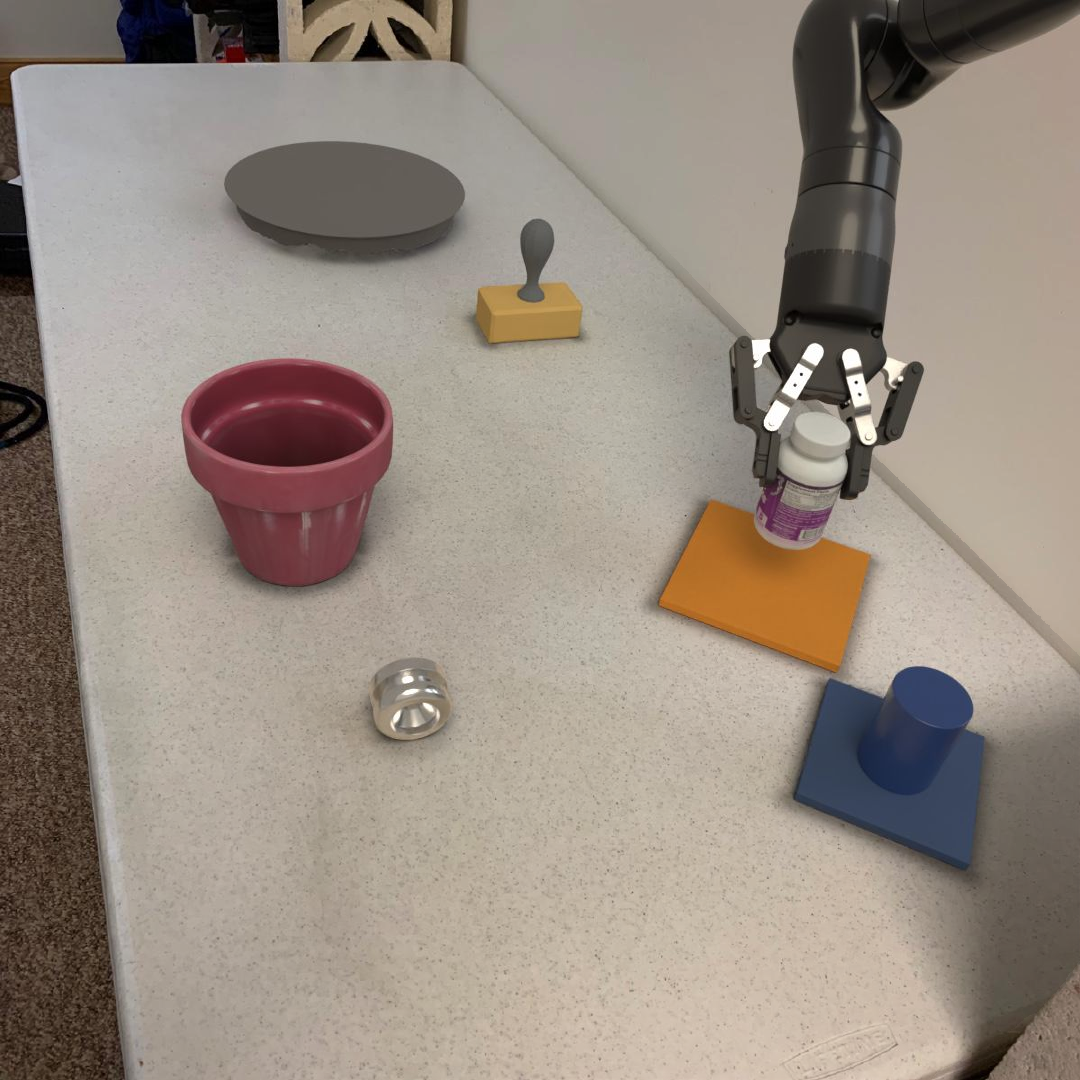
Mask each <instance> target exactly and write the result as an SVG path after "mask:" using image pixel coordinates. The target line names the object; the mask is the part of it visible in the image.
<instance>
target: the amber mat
mask: <svg viewBox="0 0 1080 1080" xmlns="http://www.w3.org/2000/svg"><path fill="white" fill-rule="evenodd" d="M754 515H755V513H752V512H749V511H746V510H743V509H740V508H738V507H735V506H732V505H729V504H725V503H723V502H720V501H718V500H714V499H710V500H709V501H708V503H707V506H706V508H705V510H704V512H703V514H702V516H701V517H700V519H699V522H698V523H697V525H696V528H695V530H694V532H693V534H692V535H691V536H690V539H689V542H688V543H687V545H686V547H685V549H684V551H683V553H682V555H681V557H680V558H679V561H678V563H677V565H676V567H675V569H674V571H673V573H672V575H671V577H670V579H669V580H668V582H667V584H666V586H665V588H664V591H663V593H662V595H661V596H660V598H659V602H658V606H659V607H661V608H664V609H667V610H669V611H672V612H675V613H678V614H679V615H683V616H684V617H685V616H686V617H688V618H691V619H693V620H696V621H698V622H701V623H704V624H706V625H709V626H712V627H714V628H717V629H720V630H723V631H725V632H728V633H730V634H733V635H734V636H735V635H736V636H738V637H741V638H744V639H746V640H749V641H752V642H754V643H756V644H760V645H762V646H765V647H768V648H770V649H773V650H775V651H777V652H780V653H783V654H787V655H789V656H791V657H794V658H797V659H800V660H801V661H804V662H807V663H810V664H812V665H815V666H818V667H820V668H823V669H825V670H828V671H830V672H834V673H838V672H839V670H840V667H841V665H842V661H843V659H844V654H845V650H846V647H847V643H848V639H849V635H850V632H851V629H852V625H853V621H854V617H855V614H856V610H857V607H858V603H859V600H860V596H861V592H862V589H863V585H864V581H865V577H866V574H867V570H868V567H869V563H870V560H871V556H872V555H871V554H870V553H867V552H864V551H861V550H859V549H856V548H853V547H850V546H848V545H845V544H842V543H838V542H836V541H833V540H830V539H827V538H824V537H821V539H820V540H819V542H818V543H816V544H815V545H814V546H812V547H810V548H807V549H802V550H789V549H784V548H780V547H778V546H775V545H773V544H771V543H770V542H768V541H767V540H765V539H764V538H763V537H762V536H761V535H760V534H759V532H758V531H757V529H756V527H755V525H754Z"/></svg>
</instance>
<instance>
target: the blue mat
mask: <svg viewBox="0 0 1080 1080" xmlns="http://www.w3.org/2000/svg"><path fill="white" fill-rule="evenodd" d="M883 698H884V697H881V696H879V695H876V694H874V693H871V692H868V691H865V690H863V689H860V688H858V687H855V686H853V685H850V684H847V683H844V682H842V681H839V680H837V679H834V678H832V677H829V678H828V680H827V683H826V685H825V689H824V692H823V696H822V699H821V703H820V705H819V709H818V712H817V715H816V716H817V717H816V719H815V723H814V727H813V730H812V734H811V737H810V741H809V744H808V748H807V752H806V755H805V758H804V762H803V766H802V769H801V773H800V775H799V779H798V783H797V786H796V790H795V792H794V793H795V794H794V797H793V800H794V801H796V802H797V803H801V804H803V805H806V806H808V807H810V808H813V809H814V810H815V809H816V810H818V811H819V812H822V813H825V814H827V815H829V816H832V817H835V818H837V819H840V820H841V821H844V822H847V823H850V824H851V825H854V826H857V827H859V828H862V829H863V830H866V831H868V832H871V833H873V834H875V835H878V836H881V837H883V838H885V839H887V840H891V841H893V842H895V843H897V844H900V845H902V846H905V847H907V848H909V849H912V850H915V851H917V852H919V853H922V854H924V855H927V856H930V857H931V858H933V859H936V860H939V861H941V862H944V863H946V864H948V865H951V866H954V867H956V868H958V869H961V870H963V871H967V869H968V868H969V867H970V866H971V864H972V856H973V855H972V854H973V844H974V838H975V837H974V836H975V828H976V827H975V826H976V818H977V809H978V802H979V801H978V799H979V792H980V781H981V774H982V765H983V764H982V763H983V755H984V748H985V747H984V746H985V736H984V735H981V734H978V733H976V732H973V731H971V730H968V729H966V728H965V730H964V731H963V733H962V734H961V736H960V738H959V739H958V741H957V742H956V744H955V746H954V747H953V749H952V750H951V752H950V754H949V755H948V757H947V758H946V760H945V762H944V763H943V765H942V766H941V768H940V770H939V771H938V773H937V774H936V776H935V778H934V779H933V781H932V782H931V784H930V785H929V787H928V788H927V789H926V790H924V791H922V792H920V793H918V794H913V795H902V794H897V793H893V792H890V791H888V790H886V789H884V788H882V787H880V786H879V785H877V784H876V783H874V782H873V781H872V780H871V779H870V778H869V777H868V776H867V775H866V773H865V772H864V771H863V769H862V767H861V765H860V763H859V760H858V747H859V744H860V742H861V740H862V738H863V737H864V735H865V733H866V731H867V729H868V727H869V725H870V723H871V721H872V719H873V717H874V715H875V714H876V712H877V710H878V708H879V706H880V704H881V702H882V700H883Z"/></svg>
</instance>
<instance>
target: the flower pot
mask: <svg viewBox="0 0 1080 1080" xmlns="http://www.w3.org/2000/svg"><path fill="white" fill-rule="evenodd" d="M180 422H181V431H182V432H181V433H182V438H183V439H182V440H183V446H184V447H183V448H184V452H185V457H186V463H187V467H188V469H189V471H190V474H191V476H192V477H193V479H194V480H195V481H196V483H198V484H199V486H201V487H202V489H204V490H205V491H206V492H207V493H209V494H210V496H211V498H212V500H213V503H214V505H215V507H216V509H217V512H218V514H219V517H220V518H221V520H222V523H223V525H224V527H225V530H226V531H227V533H228V536H229V538H230V541H231V543H232V545H233V547H234V550H235V552H236V555H237V557H238V560H239V562H240V563H241V565H242V566H243V567H244V568H245V569H246V570H247V571H248V572H249V573H250V574H252V575H253V576H254V577H256V578H258V579H260V580H262V581H264V582H266V583H270V584H275V585H279V586H286V587H302V586H308V585H315V584H319V583H321V582H325V581H327V580H329V579H332V578H333V577H336V576H337V575H339V574H340V573H341V572H343V571H344V570H345V569H346V568H348V567H349V565H350V564H351V563H352V561H353V560H354V558H355V555H356V553H357V551H358V547H359V543H360V540H361V537H362V532H363V530H364V527H365V523H366V521H367V520H366V519H367V515H368V512H369V509H370V505H371V501H372V498H373V495H374V490H375V487H376V485H377V484H378V483H379V482H380V481H381V479H383V477H384V476H385V475H386V473H387V471H388V469H389V467H390V464H391V462H392V457H393V449H394V448H393V447H394V415H393V408H392V405H391V402H390V400H389V398H388V396H387V395H386V393H385V392H384V391H383V390H382V388H380V387H379V386H378V385H377V384H376V383H375V382H374V381H372V380H371V379H369V378H368V377H366V376H364V375H363V374H360V373H358V372H356V371H354V370H352V369H350V368H347V367H344V366H341V365H338V364H335V363H334V364H333V363H329V362H326V361H321V360H315V359H307V358H306V359H305V358H293V357H292V358H291V357H289V358H268V359H261V360H254V361H249V362H245V363H242V364H239V365H235V366H232V367H229V368H227V369H224V370H221V371H219V372H217V373H215V374H213V375H212V376H211V377H209V378H207V379H206V380H204V381H203V382H201V383H200V384H199V385H198V386H197V387H195V389H194V390H192V392H191V393H190V394H189V395H188V397H187V398H186V400H185V402H184V404H183V407H182V409H181V414H180Z"/></svg>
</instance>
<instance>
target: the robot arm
mask: <svg viewBox="0 0 1080 1080" xmlns="http://www.w3.org/2000/svg"><path fill="white" fill-rule="evenodd" d="M1078 16H1080V0H898V1H897V0H811V1H810V2H809V4H808V5H807V6H806V8H805V9H804V12H803V14H802V16H801V18H800V20H799V23H798V25H797V28H796V31H795V36H794V40H793V45H792V59H791V61H792V62H791V65H792V66H791V68H792V80H793V89H794V95H795V101H796V102H795V103H796V108H797V109H796V110H797V116H798V125H799V131H800V137H801V142H802V151H803V152H802V159H801V166H800V172H799V179H798V189H797V197H796V202H795V207H794V212H793V215H792V219H791V222H790V226H789V230H788V237H787V243H786V246H785V248H784V254H783V255H784V256H783V259H784V264H783V265H784V267H783V273H782V282H781V289H780V297H779V303H778V304H779V305H778V311H777V312H778V313H777V319H776V325H775V328H774V332H773V333H772V334H771V336H770V337H769V338H766V339H751V337H749V336H747V335H741V336H739V337H738V338H737V339H736V340H735V341H734V342H733V344H732V345H731V347H730V348H729V351H728V355H729V369H730V371H729V372H730V373H729V374H730V386H731V400H732V401H731V403H732V416H733V420H734V422H735V423H736V424H738V425H743V426H746V427H747V428H749V429H750V430H752V431H753V432H754V434H755V445H754V452H753V459H752V465H751V473H752V477H753V479H758V487H759V488H763V487H764V488H770V487H772V486H774V483H775V479H776V472H777V464H778V457H779V449H780V442H781V441H782V433H779V429H780V427H781V425H782V424H783V422H784V420H785V419H786V417H787V415H788V413H789V412H790V410H791V408H792V407H793V406H794V404H795V403H796V402H797V401H802V402H803V401H804V402H809V401H819V402H821V403H823V404H826V405H829V406H830V405H831V406H836V408H837V412H838V415H839V418H840V420H841V421H842V422H844V423H845V424H846V425H847V427H848V428H849V430H850V439H849V442H848V444H849V448H846V451H845V452H844V453H845V455H846V457H847V460H848V470H847V473H846V476H845V479H844V482H843V484H842V487H841V489H840V491H839V499H840V500H845V501H853V500H856V499H858V496H859V494H862V493H863V492H865V491H866V489H867V487H868V486H869V480H870V471H871V464H872V457H873V450H874V448H876V447H879V446H887V445H889V444H891V443H893V442H896V441H897V440H900V439H901V438H902V437H903V434H904V431H905V428H906V425H907V423H908V419H909V417H910V414H911V411H912V408H913V405H914V403H915V399H916V396H917V394H918V391H919V387H920V385H921V381H922V379H923V376H924V372H925V368H924V365H923V363H921V362H920V361H917V360H916V361H911V362H909V363H908V362H905V361H901V360H898V359H896V358H893V357H890V356H888V354H887V349H886V348H885V345H884V340H883V336H884V329H885V321H886V315H887V305H888V299H889V291H890V284H891V275H892V266H893V261H894V260H893V259H894V251H895V245H896V234H897V233H896V228H897V227H896V207H897V198H898V192H899V191H898V190H899V182H900V175H901V174H900V173H901V168H902V159H903V158H902V157H903V140H902V136H901V133H900V131H899V129H898V128H897V126H896V125H895V124H894V123H893V122H891V120H890V119H888V117H886V116H885V115H884V114H883V113H882V112H889V111H898V110H903V109H905V108H908V107H910V106H912V105H914V104H916V103H917V102H919V101H920V100H921V99H923V98H924V97H925V96H926V95H927V94H929V93H931V92H932V91H933V90H934V89H935V88H936V87H938V86H939V85H941V84H942V83H943V82H945V81H946V80H947V79H949V78H950V77H951V76H952V75H954V74H955V73H956V72H957V71H958V70H960V69H961V68H962V67H963V66H965V65H969V64H971V63H974V62H977V61H981V60H983V59H986V58H988V57H990V56H994V55H996V54H999V53H1002V52H1005V51H1008V50H1011V49H1013V48H1015V47H1017V46H1018V47H1019V46H1020V45H1023V44H1025V43H1028V42H1030V41H1032V40H1035V39H1037V38H1039V37H1041V36H1044V35H1046V34H1047V33H1050V32H1052V31H1053V30H1055V29H1057V28H1059V27H1061V26H1063V25H1065V24H1066V23H1068V22H1070V21H1071V20H1073V19H1075V17H1078ZM765 356H767V357H768V359H769V361H770V362H771V364H772V367H773V368H774V369H775V372H776V373H777V375H778V377H779V379H780V380H781V381H780V384H779V385H778V386H777V389H776V391H775V392H774V394H773V395H772V397H771V399H770V401H769V402H768V405H767V407H766V409H765V410H763V409H761V408H759V407H758V406H757V391H756V390H757V389H756V374H755V371H756V370H758V368H759V367H761V365H762V363H763V359H764V357H765ZM879 373H881V374H882V375H883V377H884V380H883V381H884V382H883V386H884V388H885V390H887V391H888V395H887V398H886V401H885V404H884V407H883V409H882V413H881V416H880V418H879V421H878V424H877V426H875V422H874V419H873V416H872V403H871V398H870V395H869V391H868V387H867V385H868V384H869V383H870V382H871V381H872V380H873V378H874V377H876V375H878V374H879Z"/></svg>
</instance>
